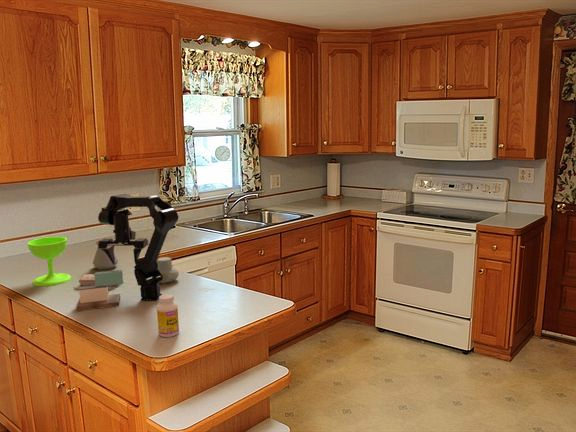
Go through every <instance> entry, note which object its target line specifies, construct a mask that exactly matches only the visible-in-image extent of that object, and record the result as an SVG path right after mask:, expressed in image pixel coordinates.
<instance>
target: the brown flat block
mask: <svg viewBox="0 0 576 432" xmlns="http://www.w3.org/2000/svg"><path fill="white" fill-rule="evenodd" d="M108 296H109V299H108V300H104V301H95V302H86V303H80V298H79V299H78V301H77V304H76V311H85V310H93V309H94V310H95V309H103V307H104V308H111V307H112V306H113V307H119V306H120V301H121V294H120V293H116V294H115V293H114V294H113V293H112V294H108Z"/></svg>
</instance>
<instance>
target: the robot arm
mask: <svg viewBox="0 0 576 432" xmlns="http://www.w3.org/2000/svg"><path fill="white" fill-rule="evenodd" d="M143 207H145V208H148V211H149V215H150V217H151V218H152V219H153V221H152V222H153V223H152V224H153V226H154V230H153V233H152V235H151V238H150V239H149V240H150V241H149V240H148V238H144V237H143V238H141V237H140V238H139V237H138V238H136V235H137V233H136V231H135V230H132V228H131V226H130V219H129V217H130V216H132V215H133V213H132V212H131V211H130V210H129V209H128V208H143ZM156 207H157V208H158V209H160V210H157V208H156ZM100 209H101V211H100V212H99V213H98V216H97V220H98V222H99V223H100V224H101V225H107V226H108V225H109V226H113V228H114V229H113V230H112V232H113V234H114V239H113V238H102V239H100V240H101V241H99V240H98V241H99V242H98V245H97V248H99V249H102V251H104V252H105V253H106V254H107V255H108V257H109V259H110V260H111V262H112V263H113V265H114V264H115V257H114V254H115V250H114V249H115V246H116V247H118V246H120V247H121V246H126V247H127V246H129V247H130V246H131V247H132V246H133V247H134V248H133V250H132V251H133V259H134V264H135V265H134V266H133V268H134V271H133V273H134V276H135V280H136V284H137V285H138V286H140V287H139V289H140V297H141V298H140V301H159V296H161V295H163V294H162V293H161V288H160V283H159V281H162V279H163V275H162V274H161V273H160V271H159V270H158V263H157V260H158V259H159V256H160V253H161V250H162V248H163V246H164V243H165V240H166V239H167V238H166V237H167V235H168V233H169V232H170V230H172V228H174V227H175V225H176V224H177V222H178V220H179V214H178V212H177V211H176V209H174V207H173V206H172V205H171V204H169V203H168V202H166V201H165V200H163V199H162V198H161V197H160V196H159V195H156V194H155V195H145V196H143V195H141V196H133V195H132V194H127V193H121V194H116V195H111V196H110V197H109V200H108V202H107V205H106V206H104V207H101V208H100ZM146 247H147V249H146V252H145V254H144V257H141V258H140V254H141V252H142V250H143V249H144V248H146Z"/></svg>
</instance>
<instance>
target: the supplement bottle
mask: <svg viewBox="0 0 576 432" xmlns="http://www.w3.org/2000/svg"><path fill="white" fill-rule="evenodd" d="M174 297H175V296H174V295H173V294H171V293H165V294H162V295H161V296H159V299H158V301H159V303H158V304H157V306H156V316H157V317H156V318H157V331H158V336H160V337H162V338H171V337H174V336H177V335H178V334H179V333H180V326H179V324H180V322H179V309H178V307H179V306H178V304H177V302H175V301H174V300H175V298H174Z"/></svg>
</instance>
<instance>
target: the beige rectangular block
mask: <svg viewBox="0 0 576 432" xmlns="http://www.w3.org/2000/svg"><path fill="white" fill-rule="evenodd" d="M78 293H79V299H80V303H86V302H95V301H104V300H108V299H109V296H108V295H109V290H108V286H98V287H96V286H86V287H80V288H79V289H78Z"/></svg>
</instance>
